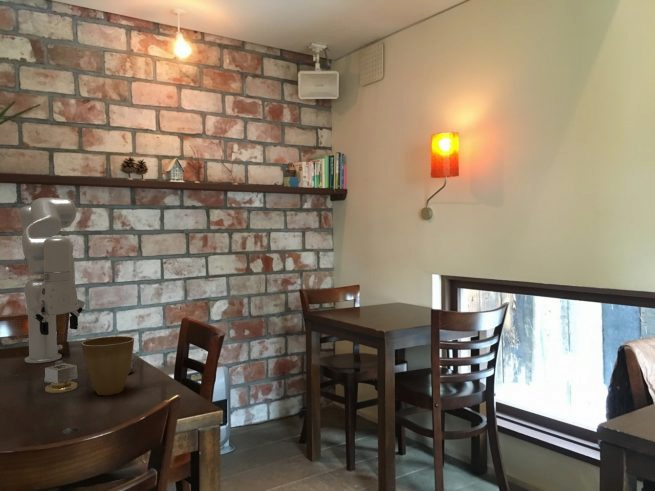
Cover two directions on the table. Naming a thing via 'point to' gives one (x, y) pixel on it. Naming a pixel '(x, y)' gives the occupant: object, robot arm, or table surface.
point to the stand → (55, 364)
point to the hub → (61, 387)
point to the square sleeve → (60, 373)
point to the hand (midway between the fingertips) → (59, 331)
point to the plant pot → (108, 362)
